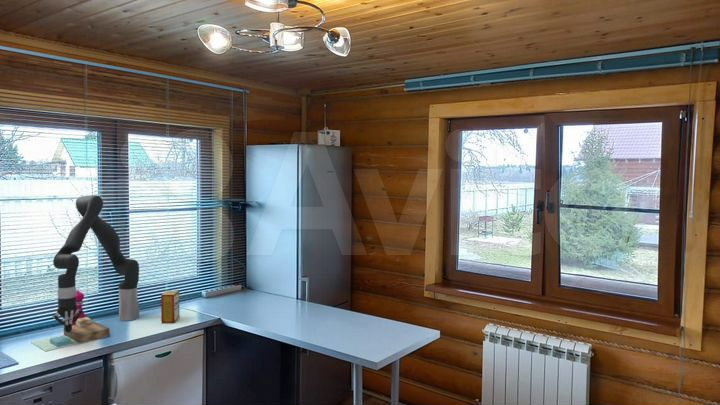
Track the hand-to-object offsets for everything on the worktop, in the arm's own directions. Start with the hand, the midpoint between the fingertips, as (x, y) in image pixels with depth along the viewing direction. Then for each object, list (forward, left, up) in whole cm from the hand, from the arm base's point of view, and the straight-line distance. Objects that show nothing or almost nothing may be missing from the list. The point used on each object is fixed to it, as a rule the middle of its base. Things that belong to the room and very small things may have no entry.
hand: (68, 332), depth 232 cm
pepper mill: (-12, -21, -5) cm, 25 cm away
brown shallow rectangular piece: (-9, -3, -5) cm, 11 cm away
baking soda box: (-49, +5, -5) cm, 50 cm away
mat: (+5, -3, -5) cm, 7 cm away
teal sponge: (+3, 0, -2) cm, 4 cm away
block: (-10, -9, -1) cm, 14 cm away
